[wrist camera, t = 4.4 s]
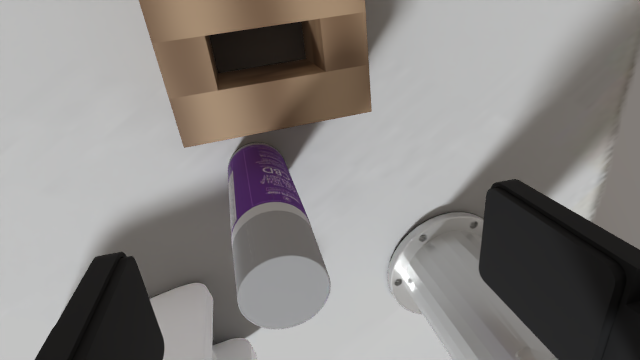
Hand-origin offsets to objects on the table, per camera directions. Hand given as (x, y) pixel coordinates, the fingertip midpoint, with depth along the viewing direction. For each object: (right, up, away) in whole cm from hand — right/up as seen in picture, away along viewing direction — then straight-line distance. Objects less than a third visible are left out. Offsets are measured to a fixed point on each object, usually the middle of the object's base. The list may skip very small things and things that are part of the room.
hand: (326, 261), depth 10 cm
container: (-5, +3, +21) cm, 22 cm away
